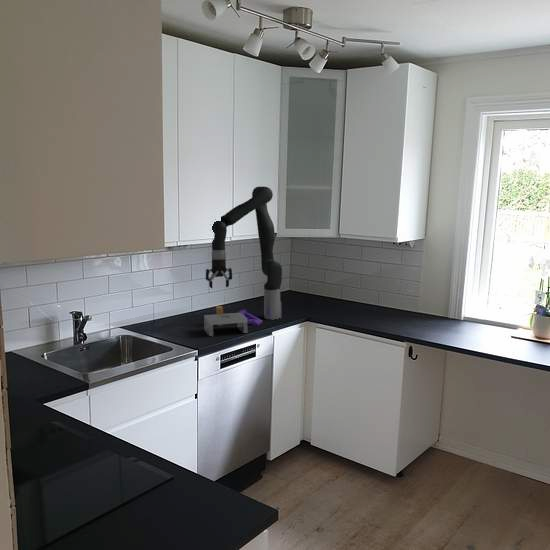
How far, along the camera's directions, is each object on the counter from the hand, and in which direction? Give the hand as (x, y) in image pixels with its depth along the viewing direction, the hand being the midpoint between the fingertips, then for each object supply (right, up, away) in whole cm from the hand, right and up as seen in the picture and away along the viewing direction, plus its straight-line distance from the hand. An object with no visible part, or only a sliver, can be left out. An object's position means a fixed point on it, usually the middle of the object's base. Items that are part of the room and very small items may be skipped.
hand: (219, 287), depth 301 cm
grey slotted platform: (+5, -23, -11) cm, 26 cm away
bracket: (+17, -21, +7) cm, 27 cm away
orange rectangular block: (0, -21, +3) cm, 21 cm away
